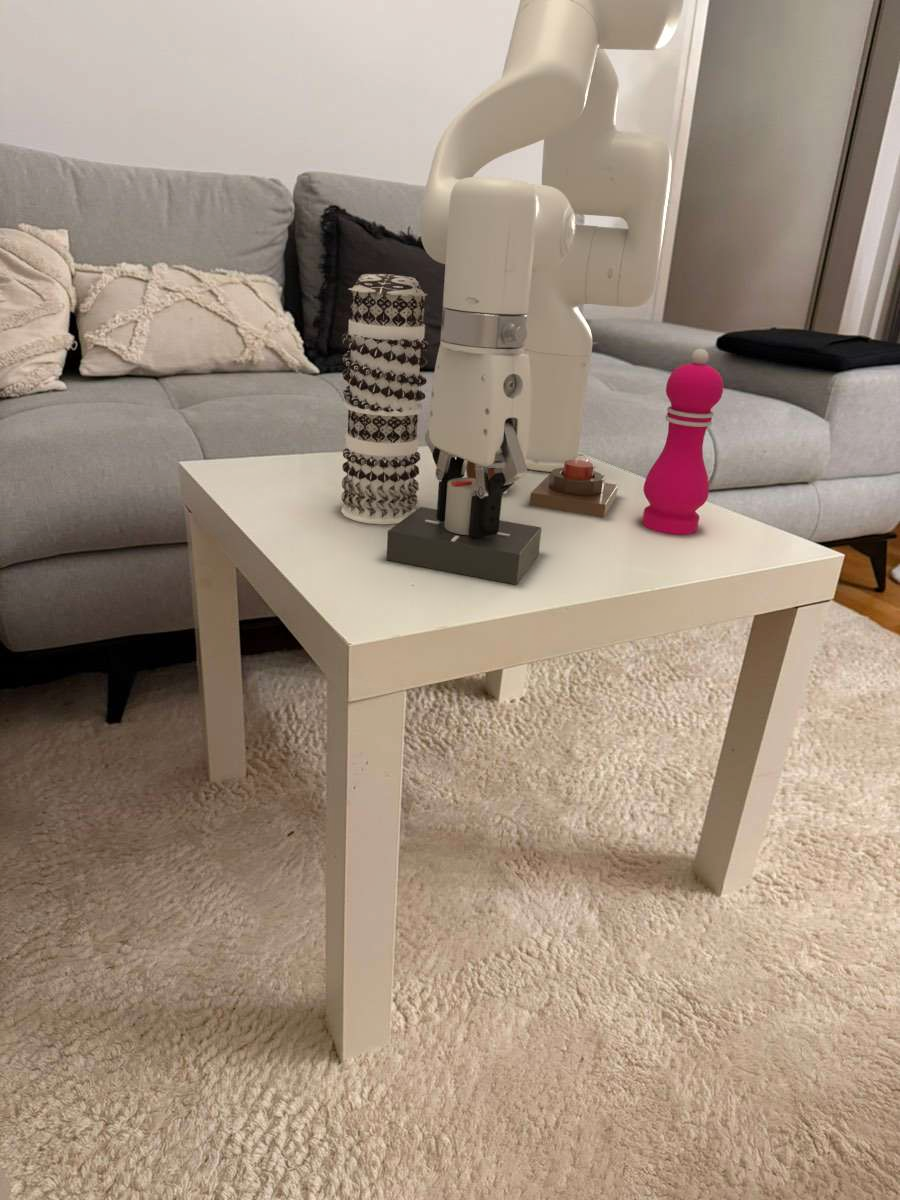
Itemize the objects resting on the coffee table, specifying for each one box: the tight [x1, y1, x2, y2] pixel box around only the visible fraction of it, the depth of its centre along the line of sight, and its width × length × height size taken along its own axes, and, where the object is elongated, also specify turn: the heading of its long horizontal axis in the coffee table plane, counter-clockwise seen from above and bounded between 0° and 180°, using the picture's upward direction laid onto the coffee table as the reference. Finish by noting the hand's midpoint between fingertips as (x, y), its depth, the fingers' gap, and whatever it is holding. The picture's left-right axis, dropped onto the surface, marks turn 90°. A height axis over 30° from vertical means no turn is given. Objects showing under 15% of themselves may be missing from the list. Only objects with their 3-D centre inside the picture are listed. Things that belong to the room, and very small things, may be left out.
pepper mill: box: [641, 348, 724, 536], centre depth 95 cm, size 7×7×20 cm
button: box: [563, 460, 595, 479], centre depth 104 cm, size 4×4×2 cm
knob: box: [444, 477, 477, 535], centre depth 82 cm, size 4×4×5 cm
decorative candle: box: [340, 273, 431, 525], centre depth 91 cm, size 9×9×25 cm
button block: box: [529, 467, 619, 519], centre depth 105 cm, size 10×9×4 cm
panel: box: [386, 506, 542, 585], centre depth 84 cm, size 9×13×3 cm
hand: (466, 525), depth 83 cm, fingers closed on knob, 4 cm apart
